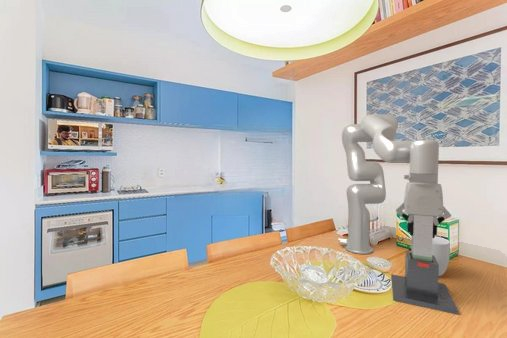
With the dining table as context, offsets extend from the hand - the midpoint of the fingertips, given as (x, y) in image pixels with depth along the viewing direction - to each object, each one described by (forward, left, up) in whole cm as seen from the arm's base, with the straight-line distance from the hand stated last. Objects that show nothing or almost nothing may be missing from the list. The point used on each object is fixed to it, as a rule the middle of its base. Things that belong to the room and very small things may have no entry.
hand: (421, 235), depth 81 cm
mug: (+5, +19, -20) cm, 28 cm away
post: (0, 0, -13) cm, 13 cm away
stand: (0, 0, -19) cm, 19 cm away
